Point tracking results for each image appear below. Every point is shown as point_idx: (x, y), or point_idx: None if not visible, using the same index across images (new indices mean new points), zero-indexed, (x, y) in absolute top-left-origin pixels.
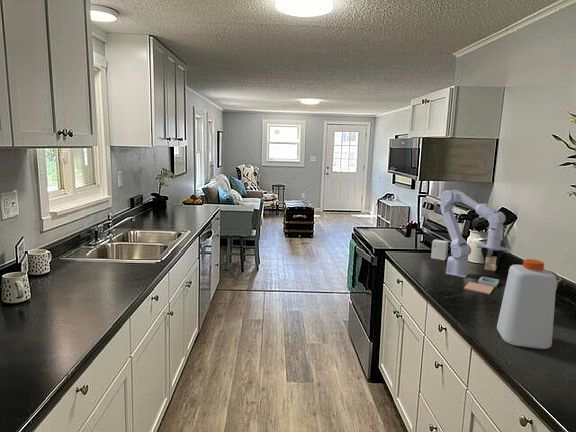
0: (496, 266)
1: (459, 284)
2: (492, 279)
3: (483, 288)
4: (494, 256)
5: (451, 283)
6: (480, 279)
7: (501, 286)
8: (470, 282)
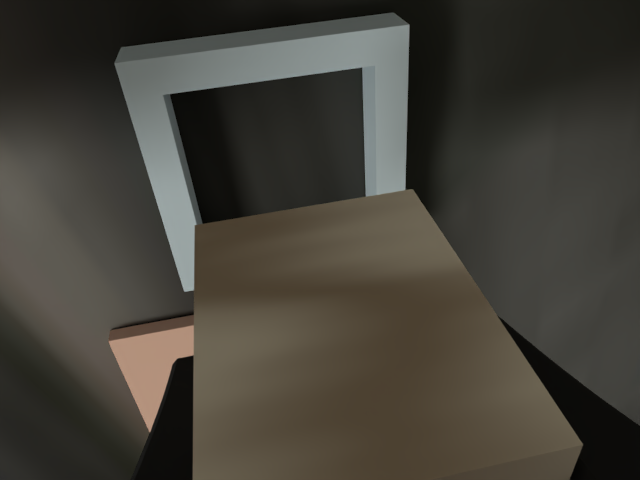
0: (434, 229)
1: (76, 429)
2: (309, 73)
3: None
4: (463, 477)
5: (8, 459)
6: (187, 244)
7: (442, 158)
8: (132, 352)
